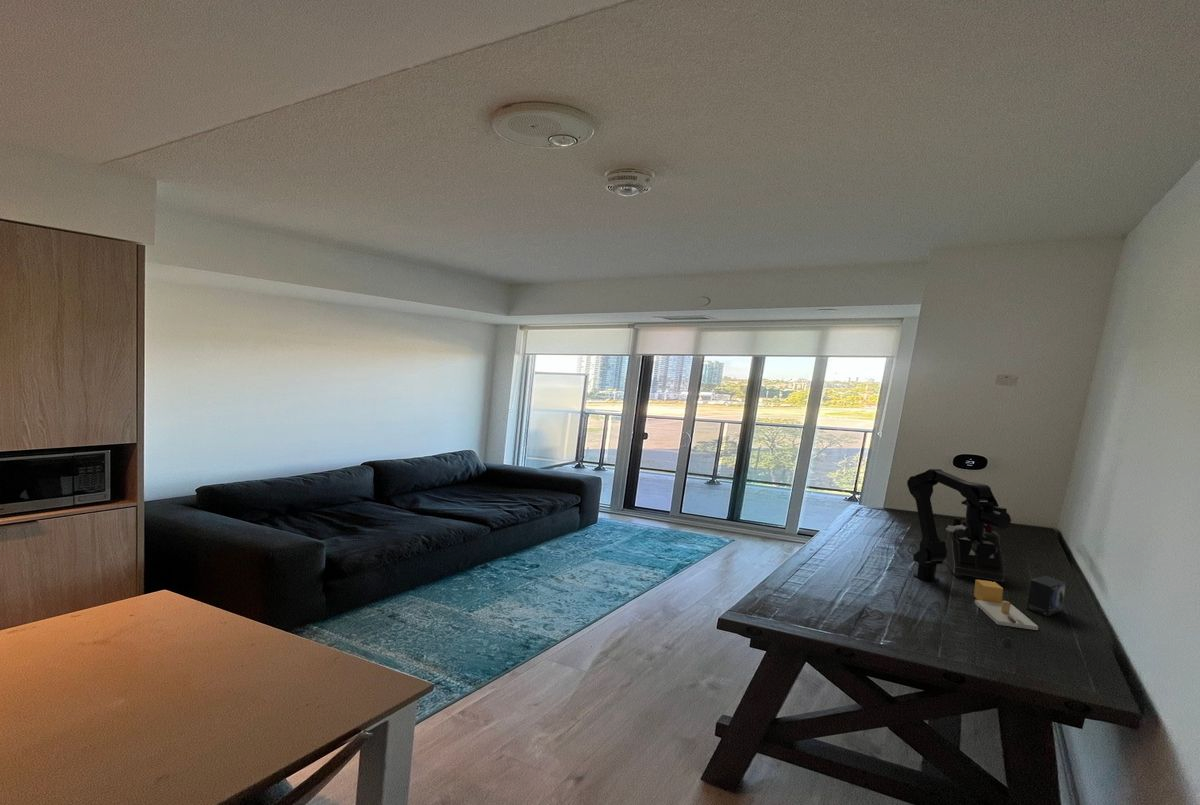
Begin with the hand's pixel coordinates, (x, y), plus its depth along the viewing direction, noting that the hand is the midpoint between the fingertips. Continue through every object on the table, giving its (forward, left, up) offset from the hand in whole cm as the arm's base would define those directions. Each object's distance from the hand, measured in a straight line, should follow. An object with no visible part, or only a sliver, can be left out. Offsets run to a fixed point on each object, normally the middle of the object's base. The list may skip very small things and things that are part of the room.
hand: (970, 563), depth 186 cm
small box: (-17, +16, -13) cm, 26 cm away
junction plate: (+2, +13, -13) cm, 18 cm away
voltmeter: (-29, -13, -13) cm, 34 cm away
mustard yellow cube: (-6, +4, -13) cm, 14 cm away
